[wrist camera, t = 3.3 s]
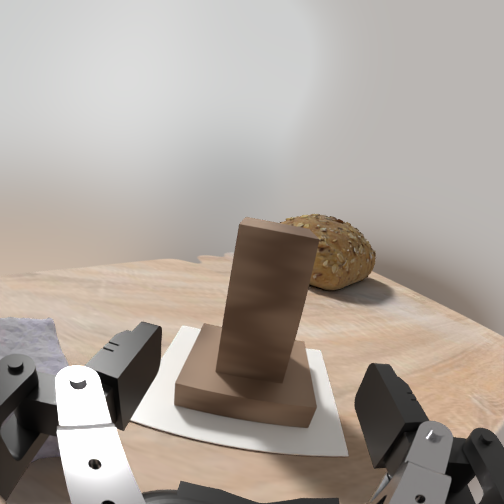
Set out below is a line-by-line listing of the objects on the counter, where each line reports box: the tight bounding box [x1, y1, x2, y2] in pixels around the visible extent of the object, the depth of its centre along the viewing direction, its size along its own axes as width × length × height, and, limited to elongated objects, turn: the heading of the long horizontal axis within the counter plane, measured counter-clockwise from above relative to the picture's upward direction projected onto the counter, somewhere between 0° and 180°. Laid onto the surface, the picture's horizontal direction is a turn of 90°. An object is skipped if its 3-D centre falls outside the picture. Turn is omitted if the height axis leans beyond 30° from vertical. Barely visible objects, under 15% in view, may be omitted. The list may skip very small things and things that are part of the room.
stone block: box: [0, 317, 69, 463], centre depth 12 cm, size 12×5×10 cm
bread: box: [280, 214, 376, 290], centre depth 59 cm, size 24×21×12 cm
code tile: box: [130, 325, 349, 457], centre depth 21 cm, size 14×14×1 cm
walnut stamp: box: [174, 217, 319, 428], centre depth 20 cm, size 9×9×12 cm
